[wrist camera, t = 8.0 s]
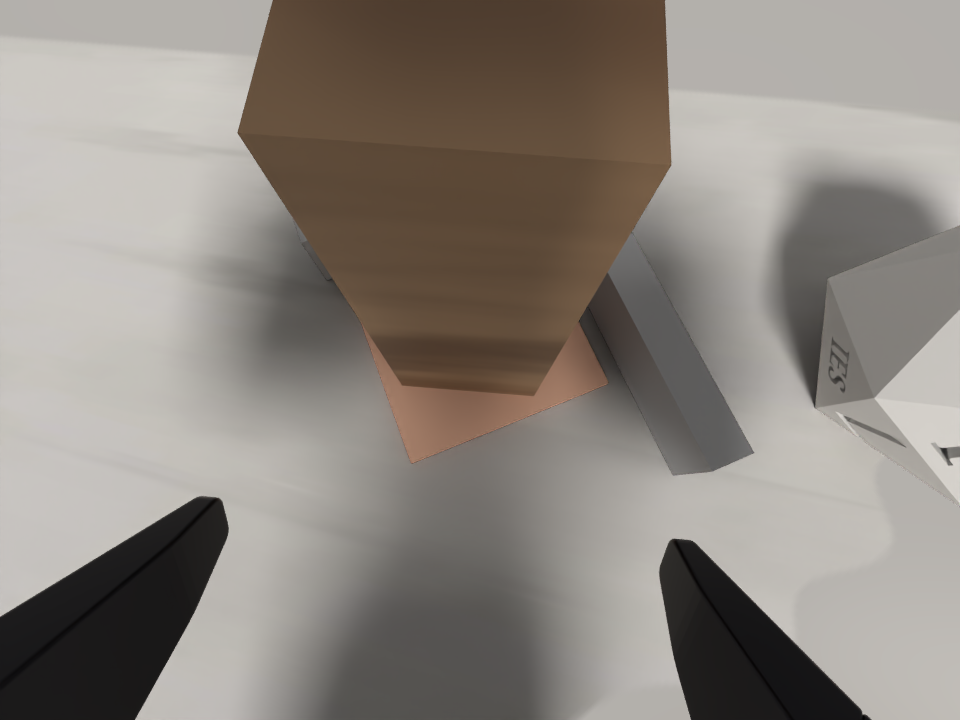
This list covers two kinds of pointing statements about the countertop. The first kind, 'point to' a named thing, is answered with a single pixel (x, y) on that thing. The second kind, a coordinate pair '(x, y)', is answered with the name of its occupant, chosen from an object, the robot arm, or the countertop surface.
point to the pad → (482, 400)
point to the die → (899, 358)
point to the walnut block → (464, 166)
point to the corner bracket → (657, 366)
